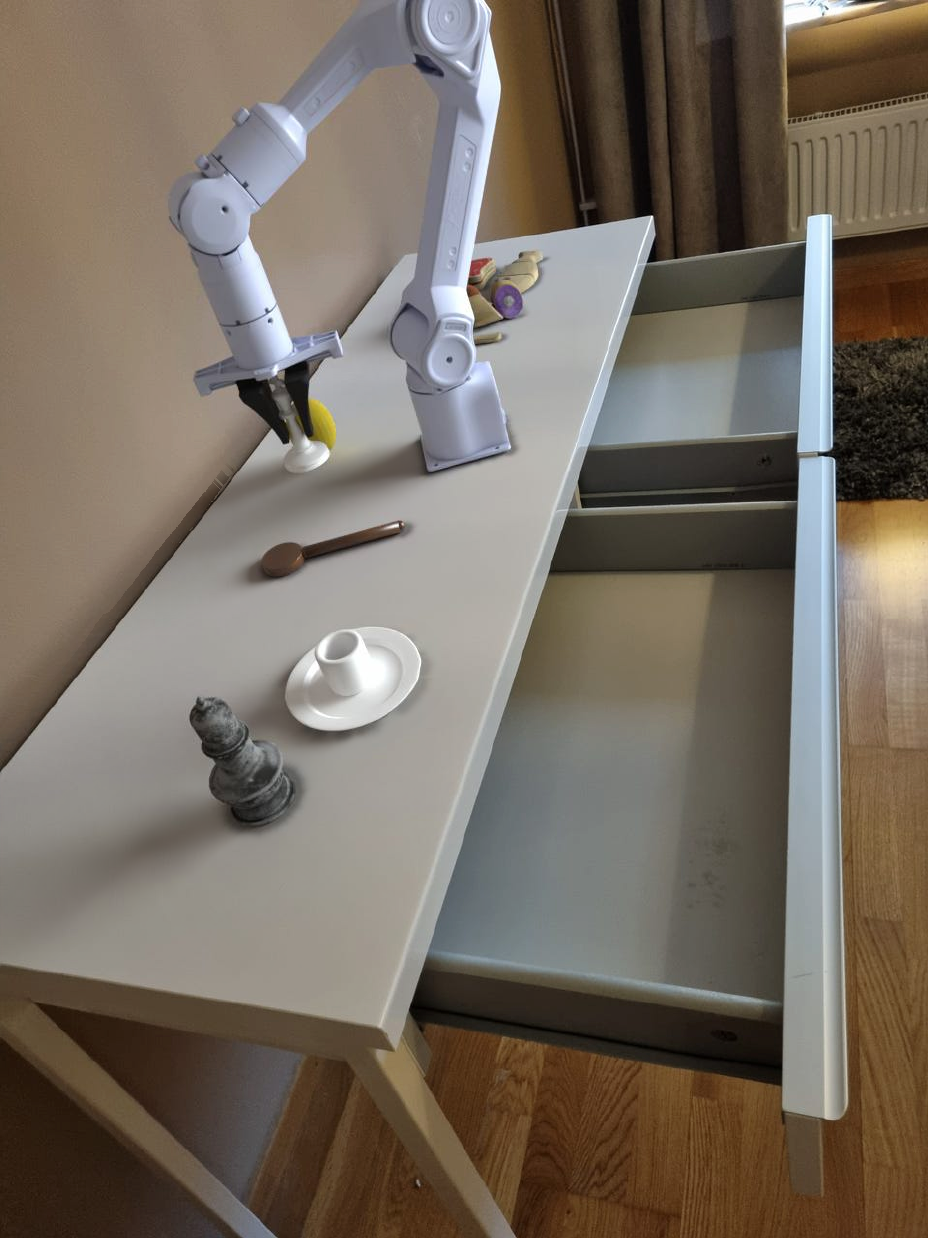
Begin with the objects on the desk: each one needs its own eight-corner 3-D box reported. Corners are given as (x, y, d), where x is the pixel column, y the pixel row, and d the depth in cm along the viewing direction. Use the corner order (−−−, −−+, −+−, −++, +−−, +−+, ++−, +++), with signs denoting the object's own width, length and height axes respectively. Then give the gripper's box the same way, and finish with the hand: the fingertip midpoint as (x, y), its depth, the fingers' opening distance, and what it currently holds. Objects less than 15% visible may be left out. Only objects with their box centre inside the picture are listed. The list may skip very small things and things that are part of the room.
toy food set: (517, 339, 117) (511, 310, 114) (401, 352, 122) (393, 325, 119) (544, 257, 134) (540, 230, 132) (443, 272, 139) (436, 247, 136)
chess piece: (310, 475, 91) (275, 389, 84) (276, 469, 93) (239, 384, 87) (338, 449, 94) (307, 363, 87) (304, 443, 96) (271, 359, 90)
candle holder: (450, 667, 75) (438, 631, 72) (344, 760, 70) (326, 725, 67) (363, 615, 83) (349, 580, 80) (262, 695, 78) (243, 662, 75)
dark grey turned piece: (231, 775, 72) (165, 676, 64) (300, 760, 71) (242, 658, 63) (223, 837, 67) (150, 738, 59) (296, 821, 67) (233, 719, 59)
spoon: (404, 517, 93) (401, 508, 92) (408, 541, 89) (405, 532, 89) (265, 555, 93) (261, 547, 93) (264, 581, 90) (259, 572, 89)
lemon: (337, 469, 103) (313, 409, 98) (294, 472, 105) (269, 413, 99) (350, 442, 107) (328, 383, 102) (308, 446, 108) (285, 388, 103)
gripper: (169, 350, 80) (229, 474, 89) (322, 306, 79) (367, 435, 88) (176, 320, 85) (232, 440, 94) (321, 278, 85) (363, 402, 94)
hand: (298, 435), depth 92 cm, fingers closed on chess piece
